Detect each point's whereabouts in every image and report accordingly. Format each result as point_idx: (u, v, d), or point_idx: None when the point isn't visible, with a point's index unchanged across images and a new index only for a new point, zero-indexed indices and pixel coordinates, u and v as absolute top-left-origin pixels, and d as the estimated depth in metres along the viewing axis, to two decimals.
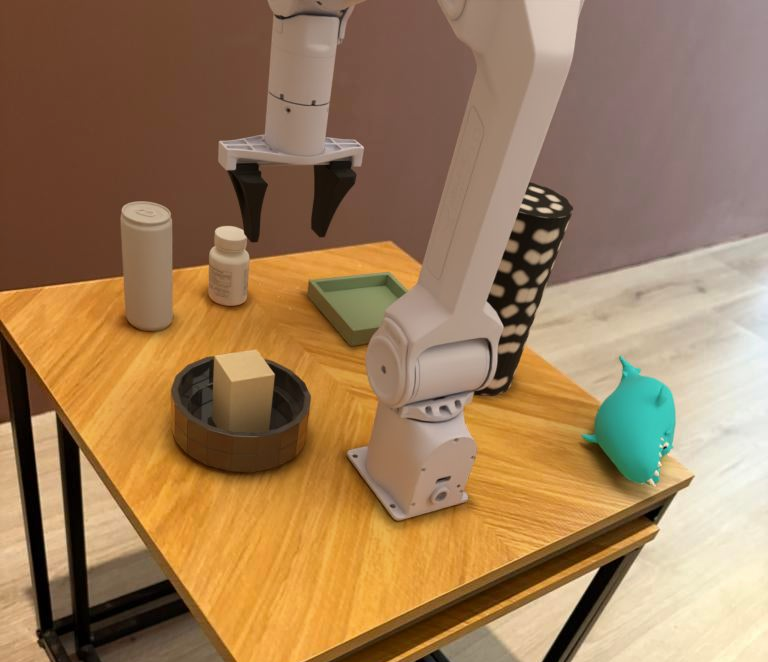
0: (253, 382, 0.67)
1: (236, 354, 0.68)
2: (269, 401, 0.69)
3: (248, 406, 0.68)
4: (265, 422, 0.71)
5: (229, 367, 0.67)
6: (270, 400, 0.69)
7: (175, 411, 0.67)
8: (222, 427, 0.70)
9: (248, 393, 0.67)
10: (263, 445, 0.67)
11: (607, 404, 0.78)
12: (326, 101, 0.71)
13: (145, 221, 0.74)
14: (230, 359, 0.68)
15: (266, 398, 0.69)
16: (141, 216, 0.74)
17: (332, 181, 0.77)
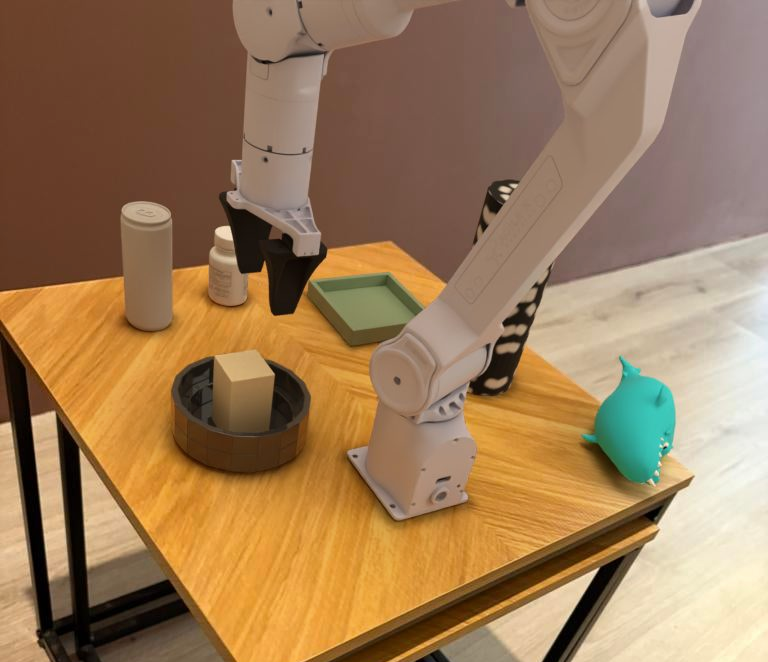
0: (253, 382, 0.67)
1: (236, 354, 0.68)
2: (269, 401, 0.69)
3: (248, 406, 0.68)
4: (265, 422, 0.71)
5: (229, 367, 0.67)
6: (270, 400, 0.69)
7: (175, 411, 0.67)
8: (222, 427, 0.70)
9: (248, 393, 0.67)
10: (263, 445, 0.67)
11: (607, 404, 0.78)
12: None
13: (145, 221, 0.74)
14: (230, 359, 0.68)
15: (266, 398, 0.69)
16: (141, 216, 0.74)
17: None
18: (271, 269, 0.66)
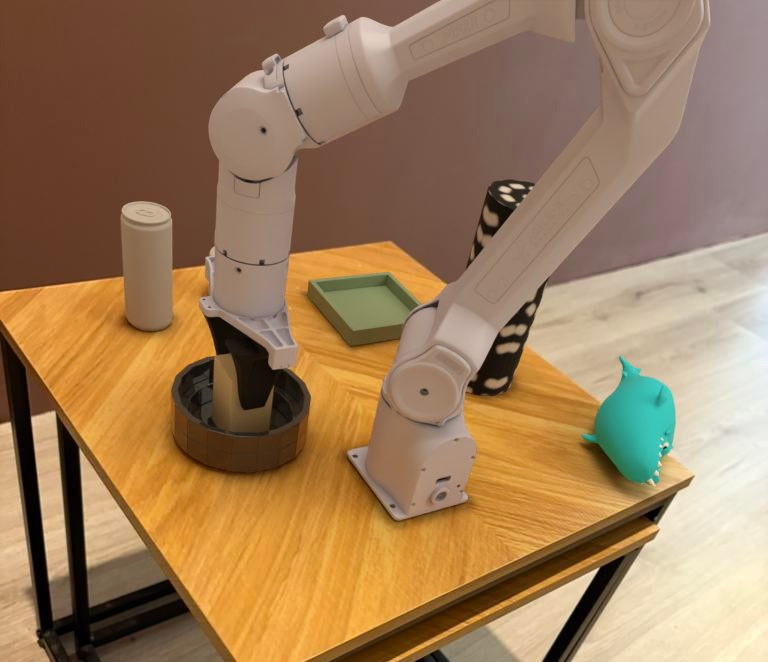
0: None
1: None
2: (269, 402, 0.69)
3: None
4: (265, 422, 0.71)
5: (229, 367, 0.67)
6: (270, 400, 0.69)
7: (175, 411, 0.67)
8: (222, 427, 0.70)
9: None
10: (263, 445, 0.67)
11: (607, 404, 0.78)
12: None
13: (145, 221, 0.74)
14: (230, 359, 0.68)
15: None
16: (141, 216, 0.74)
17: None
18: (239, 368, 0.63)
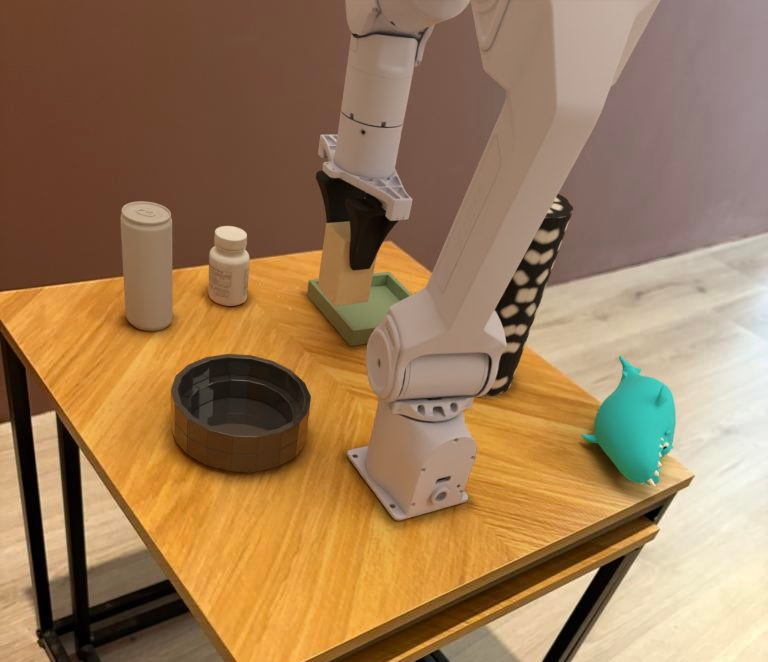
0: None
1: (344, 223, 0.78)
2: (372, 266, 0.79)
3: None
4: (367, 286, 0.80)
5: (341, 232, 0.76)
6: (373, 264, 0.79)
7: (175, 411, 0.67)
8: (329, 290, 0.80)
9: None
10: (263, 445, 0.67)
11: (607, 404, 0.78)
12: (398, 124, 0.69)
13: (145, 221, 0.74)
14: (340, 226, 0.77)
15: None
16: (141, 216, 0.74)
17: None
18: (356, 225, 0.73)
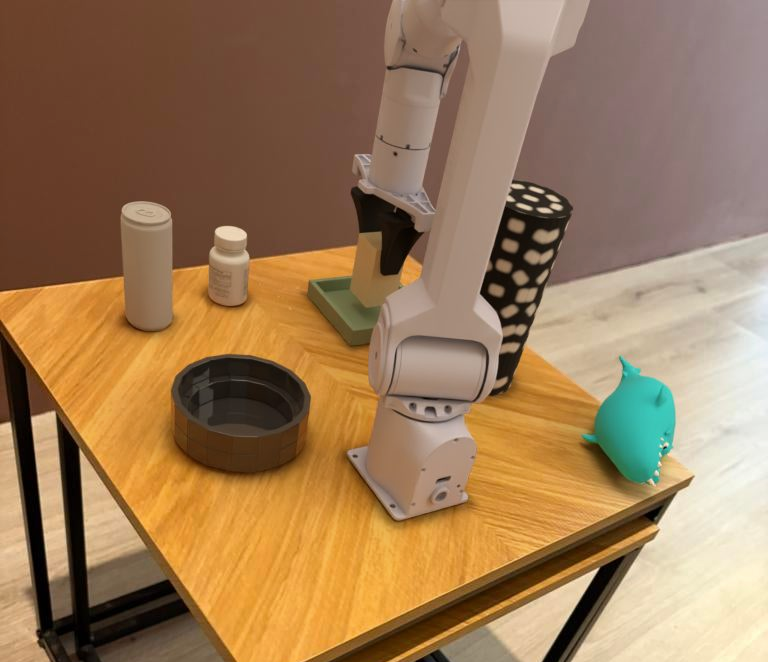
0: None
1: (375, 233, 0.87)
2: (400, 271, 0.88)
3: None
4: (394, 290, 0.89)
5: (372, 241, 0.85)
6: (401, 270, 0.88)
7: (175, 411, 0.67)
8: (361, 293, 0.89)
9: None
10: (263, 445, 0.67)
11: (607, 404, 0.78)
12: (422, 147, 0.77)
13: (145, 221, 0.74)
14: (371, 236, 0.86)
15: None
16: (141, 216, 0.74)
17: None
18: (387, 236, 0.82)
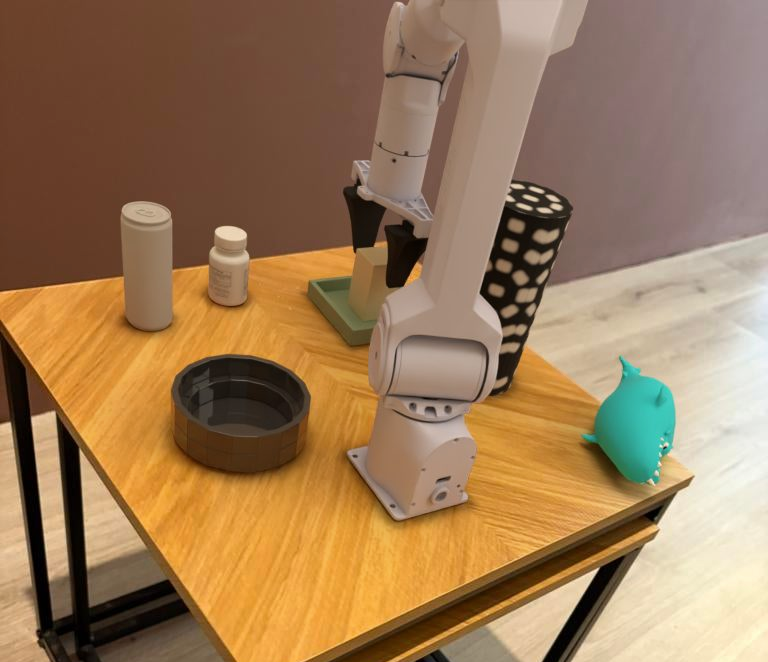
0: None
1: (372, 248, 0.88)
2: None
3: (382, 289, 0.88)
4: None
5: (370, 256, 0.87)
6: None
7: (175, 411, 0.67)
8: (358, 307, 0.90)
9: (384, 276, 0.87)
10: (263, 445, 0.67)
11: (607, 404, 0.78)
12: (421, 154, 0.78)
13: (145, 221, 0.74)
14: (369, 251, 0.87)
15: None
16: (141, 216, 0.74)
17: None
18: (393, 249, 0.81)
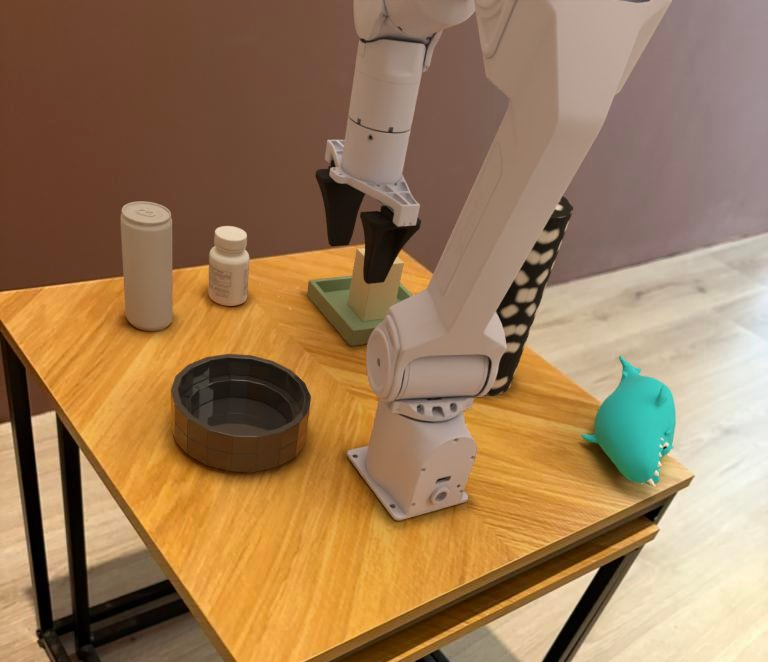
0: None
1: None
2: (397, 286, 0.89)
3: (382, 289, 0.88)
4: (391, 304, 0.90)
5: None
6: (398, 285, 0.89)
7: (175, 411, 0.67)
8: (358, 307, 0.90)
9: None
10: (263, 445, 0.67)
11: (607, 404, 0.78)
12: (405, 129, 0.68)
13: (145, 221, 0.74)
14: None
15: (395, 283, 0.88)
16: (141, 216, 0.74)
17: None
18: (370, 239, 0.71)
